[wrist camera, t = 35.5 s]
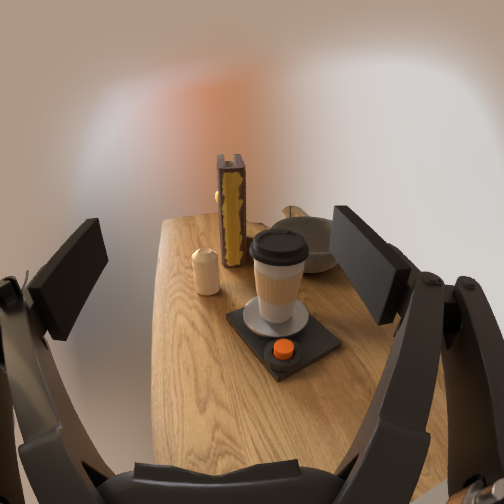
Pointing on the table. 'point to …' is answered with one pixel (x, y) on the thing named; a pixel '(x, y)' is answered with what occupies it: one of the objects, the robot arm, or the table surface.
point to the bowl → (312, 240)
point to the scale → (305, 342)
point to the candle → (206, 271)
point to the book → (232, 210)
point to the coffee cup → (278, 271)
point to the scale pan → (275, 329)
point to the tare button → (283, 349)
